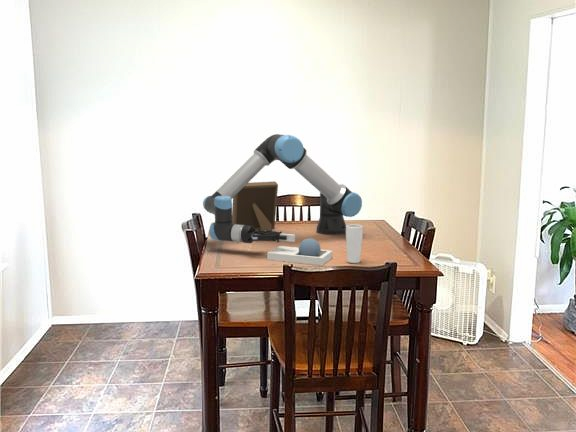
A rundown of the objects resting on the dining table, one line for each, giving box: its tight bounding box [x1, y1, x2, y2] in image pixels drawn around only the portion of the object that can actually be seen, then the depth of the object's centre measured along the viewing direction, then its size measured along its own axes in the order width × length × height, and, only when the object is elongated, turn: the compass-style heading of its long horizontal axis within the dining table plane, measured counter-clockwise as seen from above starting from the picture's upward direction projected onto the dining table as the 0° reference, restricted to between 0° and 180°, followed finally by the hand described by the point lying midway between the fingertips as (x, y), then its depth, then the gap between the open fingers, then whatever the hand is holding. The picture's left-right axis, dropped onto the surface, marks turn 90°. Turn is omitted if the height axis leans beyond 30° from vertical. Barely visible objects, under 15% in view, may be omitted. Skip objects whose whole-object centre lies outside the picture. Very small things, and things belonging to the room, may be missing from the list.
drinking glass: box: [345, 223, 364, 264], centre depth 236 cm, size 7×7×15 cm
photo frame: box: [232, 181, 279, 231], centre depth 293 cm, size 15×22×25 cm
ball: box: [298, 238, 321, 257], centre depth 241 cm, size 9×9×9 cm
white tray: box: [266, 245, 334, 266], centre depth 243 cm, size 24×13×3 cm, turn 68°
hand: (294, 238), depth 242 cm, fingers closed
